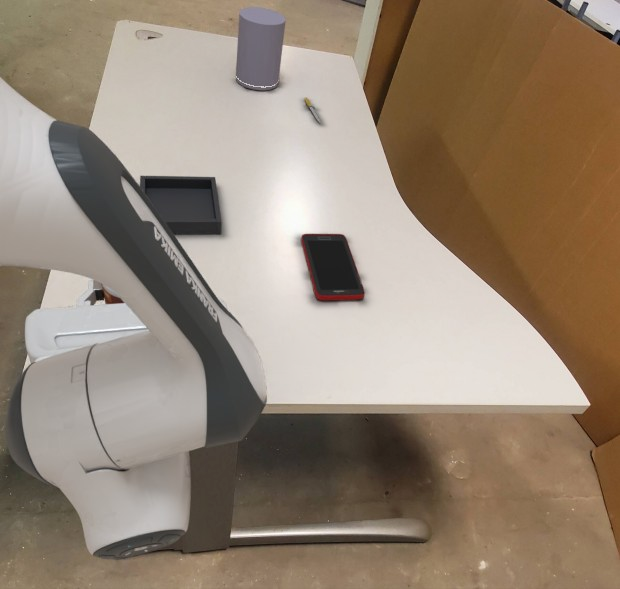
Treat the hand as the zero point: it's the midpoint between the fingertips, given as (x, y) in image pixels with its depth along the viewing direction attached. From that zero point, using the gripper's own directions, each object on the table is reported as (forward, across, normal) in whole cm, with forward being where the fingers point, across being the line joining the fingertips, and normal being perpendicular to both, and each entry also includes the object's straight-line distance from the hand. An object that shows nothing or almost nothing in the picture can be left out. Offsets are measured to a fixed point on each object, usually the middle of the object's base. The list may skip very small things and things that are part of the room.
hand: (131, 282), depth 60 cm
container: (+78, -30, +11) cm, 84 cm away
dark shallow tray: (+28, -8, +11) cm, 31 cm away
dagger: (+63, -40, +11) cm, 76 cm away
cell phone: (+12, -30, +11) cm, 34 cm away
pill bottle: (-1, 0, +6) cm, 6 cm away
